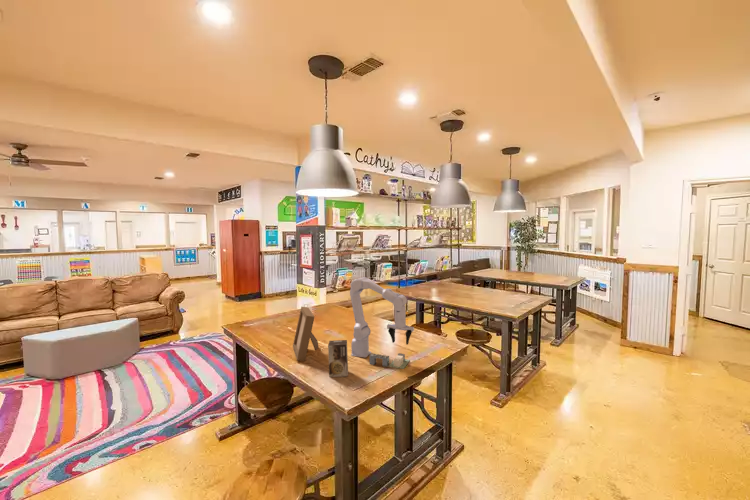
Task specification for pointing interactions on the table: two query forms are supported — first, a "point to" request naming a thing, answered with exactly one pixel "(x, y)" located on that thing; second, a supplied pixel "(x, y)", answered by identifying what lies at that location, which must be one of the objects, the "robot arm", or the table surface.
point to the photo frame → (304, 334)
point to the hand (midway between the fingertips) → (400, 343)
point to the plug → (399, 360)
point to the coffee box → (338, 358)
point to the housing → (384, 358)
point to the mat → (401, 365)
